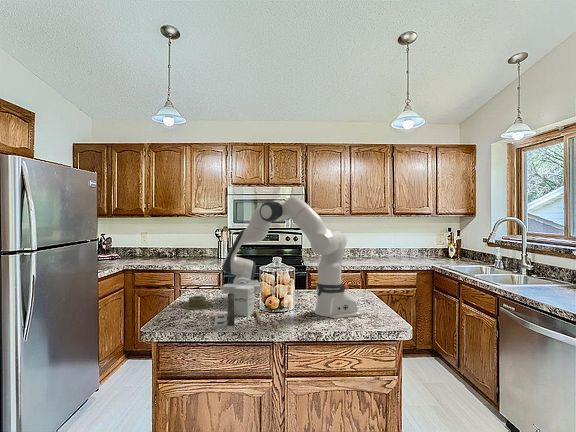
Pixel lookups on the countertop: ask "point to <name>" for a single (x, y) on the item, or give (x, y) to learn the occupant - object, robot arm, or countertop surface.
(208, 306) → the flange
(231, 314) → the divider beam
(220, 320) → the gauge plate
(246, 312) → the supplement box
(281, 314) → the countertop surface
